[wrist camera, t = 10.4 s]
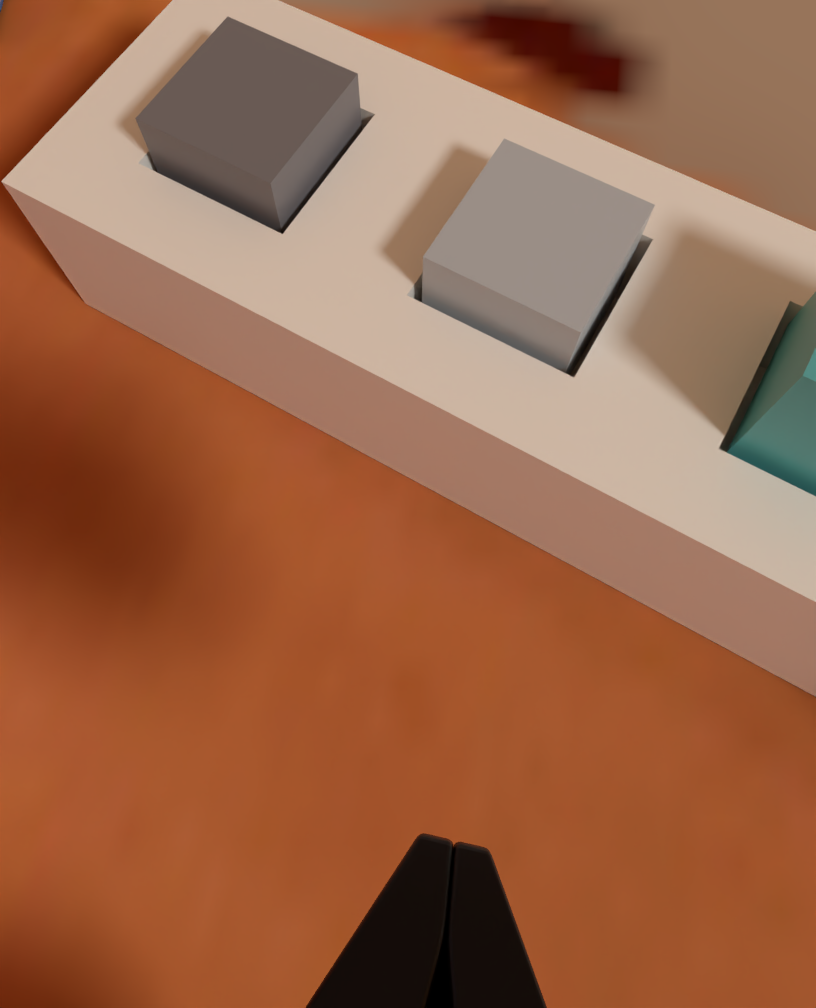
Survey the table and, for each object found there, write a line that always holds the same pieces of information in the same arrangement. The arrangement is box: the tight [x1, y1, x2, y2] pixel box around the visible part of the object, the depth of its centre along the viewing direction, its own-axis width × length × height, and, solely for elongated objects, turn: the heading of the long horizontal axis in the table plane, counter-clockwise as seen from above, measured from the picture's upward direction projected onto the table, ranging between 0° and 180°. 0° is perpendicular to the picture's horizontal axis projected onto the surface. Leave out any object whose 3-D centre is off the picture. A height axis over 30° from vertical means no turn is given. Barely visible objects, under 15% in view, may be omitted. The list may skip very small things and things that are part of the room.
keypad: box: [1, 0, 816, 697], centre depth 24 cm, size 10×29×6 cm, turn 60°
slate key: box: [422, 139, 655, 375], centre depth 21 cm, size 4×4×4 cm
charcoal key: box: [135, 16, 362, 234], centre depth 23 cm, size 4×4×4 cm
